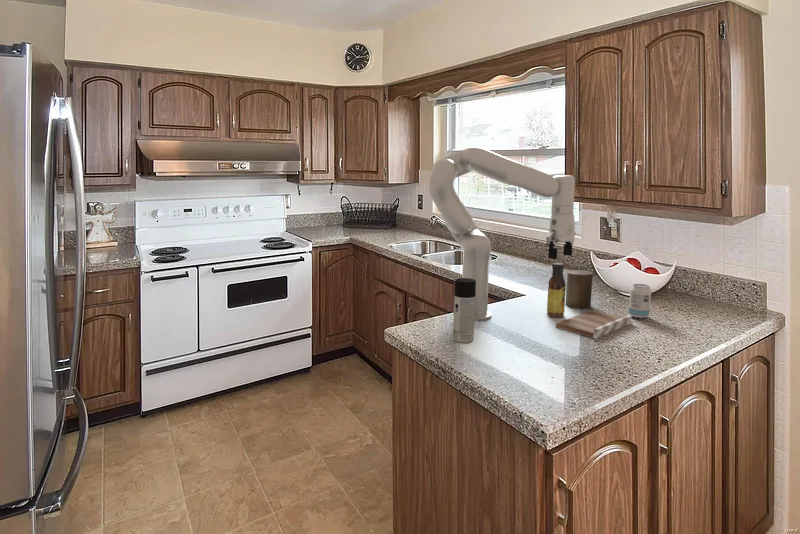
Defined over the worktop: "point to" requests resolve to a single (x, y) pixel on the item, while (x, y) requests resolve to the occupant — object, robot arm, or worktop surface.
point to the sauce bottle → (556, 292)
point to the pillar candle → (579, 289)
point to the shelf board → (594, 323)
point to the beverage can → (639, 301)
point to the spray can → (464, 310)
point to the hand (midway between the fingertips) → (560, 256)
